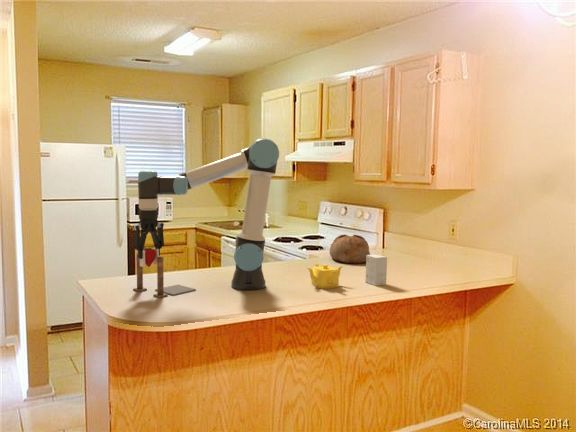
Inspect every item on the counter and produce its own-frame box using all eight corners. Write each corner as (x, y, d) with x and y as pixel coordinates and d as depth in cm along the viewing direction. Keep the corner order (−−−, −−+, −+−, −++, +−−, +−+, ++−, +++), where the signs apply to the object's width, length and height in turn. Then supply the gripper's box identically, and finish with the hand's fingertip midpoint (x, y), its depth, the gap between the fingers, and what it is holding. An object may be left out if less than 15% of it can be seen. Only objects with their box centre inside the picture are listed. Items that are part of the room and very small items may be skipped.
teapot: (314, 280, 236) (315, 260, 235) (343, 283, 231) (344, 263, 230) (304, 287, 223) (305, 266, 222) (335, 291, 218) (336, 269, 217)
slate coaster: (195, 290, 213) (195, 289, 213) (173, 295, 204) (173, 294, 204) (177, 285, 220) (177, 284, 220) (155, 290, 211) (155, 289, 211)
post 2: (167, 296, 203) (167, 257, 201) (159, 298, 200) (159, 258, 198) (161, 294, 205) (161, 256, 204) (153, 296, 202) (153, 257, 201)
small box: (386, 284, 231) (387, 257, 230) (375, 286, 228) (376, 257, 227) (376, 281, 238) (377, 254, 237) (365, 282, 235) (366, 254, 234)
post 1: (146, 290, 211) (146, 253, 210) (138, 292, 208) (138, 254, 207) (141, 288, 214) (140, 251, 212) (133, 290, 211) (132, 253, 209)
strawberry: (145, 269, 201) (145, 244, 200) (137, 266, 206) (137, 242, 205) (159, 267, 204) (159, 243, 204) (150, 264, 210) (150, 241, 209)
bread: (372, 265, 278) (373, 238, 277) (330, 264, 279) (331, 237, 278) (366, 256, 305) (367, 232, 303) (328, 255, 305) (329, 231, 304)
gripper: (161, 207, 213) (162, 260, 215) (122, 210, 198) (123, 267, 200) (172, 208, 208) (173, 263, 210) (133, 211, 193) (135, 270, 195)
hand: (149, 265), depth 205 cm, fingers closed on strawberry, 6 cm apart
